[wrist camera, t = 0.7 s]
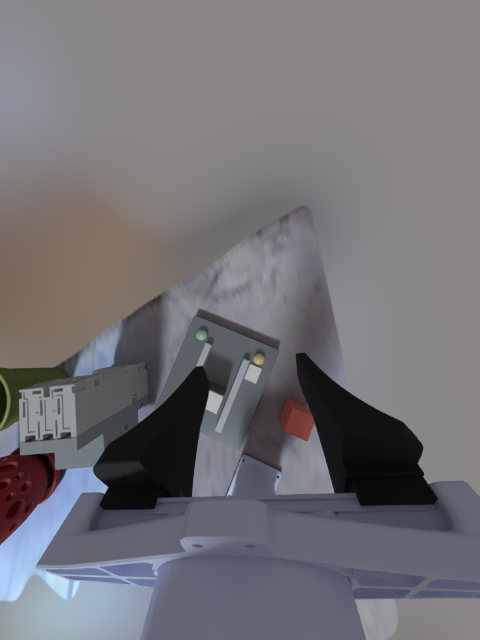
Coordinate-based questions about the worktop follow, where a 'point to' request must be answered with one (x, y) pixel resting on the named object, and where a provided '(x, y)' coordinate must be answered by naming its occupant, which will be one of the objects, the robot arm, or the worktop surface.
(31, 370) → the plant pot
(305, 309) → the worktop surface
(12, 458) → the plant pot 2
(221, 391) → the breaker handle
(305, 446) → the worktop surface
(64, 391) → the circuit breaker
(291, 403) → the red rectangular block
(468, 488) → the robot arm
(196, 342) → the breaker panel
